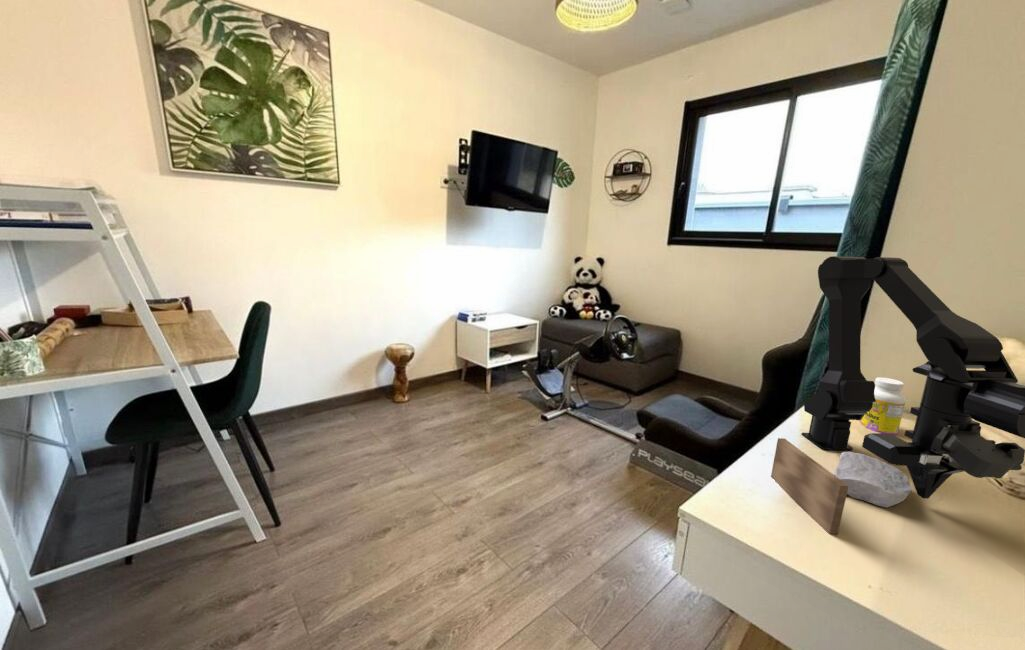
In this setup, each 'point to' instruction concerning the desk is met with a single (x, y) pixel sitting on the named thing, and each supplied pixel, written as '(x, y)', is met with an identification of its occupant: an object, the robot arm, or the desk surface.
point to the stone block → (872, 479)
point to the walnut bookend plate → (810, 485)
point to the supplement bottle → (885, 407)
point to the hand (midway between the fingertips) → (922, 497)
